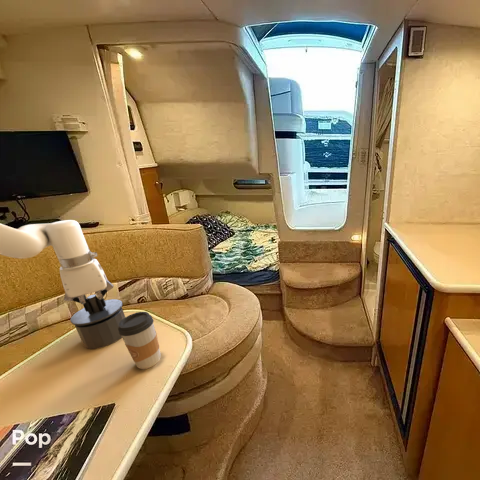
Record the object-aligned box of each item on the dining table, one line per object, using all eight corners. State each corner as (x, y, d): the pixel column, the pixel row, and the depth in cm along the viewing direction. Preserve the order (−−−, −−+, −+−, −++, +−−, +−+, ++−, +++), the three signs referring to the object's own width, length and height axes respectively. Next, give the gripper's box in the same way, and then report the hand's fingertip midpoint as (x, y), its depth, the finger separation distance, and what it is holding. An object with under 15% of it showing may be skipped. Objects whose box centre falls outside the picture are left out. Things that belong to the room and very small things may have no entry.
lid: (72, 333, 80) (63, 314, 78) (70, 314, 90) (63, 297, 88) (126, 312, 89) (120, 295, 87) (119, 297, 99) (113, 281, 96)
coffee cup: (126, 368, 78) (108, 326, 72) (151, 348, 85) (137, 308, 80) (146, 375, 75) (130, 331, 70) (171, 354, 82) (158, 313, 77)
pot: (85, 355, 84) (75, 332, 81) (82, 336, 93) (73, 316, 90) (132, 334, 92) (124, 314, 89) (125, 319, 101) (118, 300, 98)
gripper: (109, 249, 90) (126, 297, 96) (44, 263, 82) (68, 314, 88) (107, 256, 84) (125, 306, 90) (37, 272, 76) (63, 325, 82)
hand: (97, 310), depth 89 cm, fingers closed on lid, 2 cm apart
